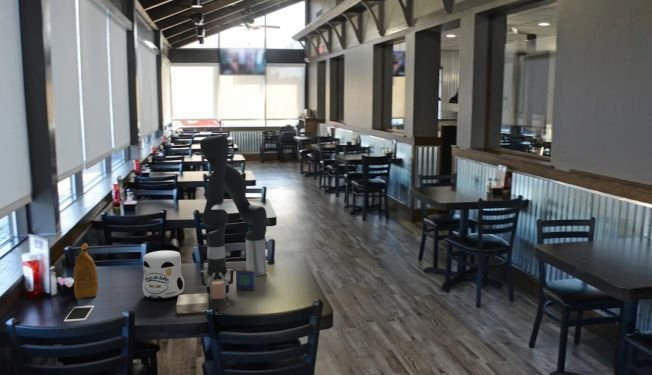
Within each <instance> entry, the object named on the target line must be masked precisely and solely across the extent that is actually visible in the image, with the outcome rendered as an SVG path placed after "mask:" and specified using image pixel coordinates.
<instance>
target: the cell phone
mask: <svg viewBox="0 0 652 375" xmlns="http://www.w3.org/2000/svg"><path fill="white" fill-rule="evenodd" d="M94 307H95V305H82V306H81V305H78V306H74V307H73V308H72V310H71V311H70V312H69V313H68V314H67V316H66V317H65V319H64V320H63V322H65V323H66V322H80V321H86V320H87V318H88V317H89V315H90V314H91V312H92V311H93V310H94Z"/></svg>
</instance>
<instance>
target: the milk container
mask: <svg viewBox="0 0 652 375" xmlns="http://www.w3.org/2000/svg"><path fill="white" fill-rule="evenodd" d="M142 264H143V280H142V286H141V287H142V288H141V290H142V293H143V295H144V296H145V297H146V298H148V299H150V300H151V299H152V300H167V299H173V298H176V297H178V295H182V294H183V292H184V290H185V280H184V277H183V273H182V272H183V271H182V258H181V254H180V252H179V251H175V250H157V251H152V252H148V253H146V254H144V255H143V257H142Z"/></svg>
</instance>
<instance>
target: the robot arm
mask: <svg viewBox="0 0 652 375" xmlns="http://www.w3.org/2000/svg"><path fill="white" fill-rule="evenodd" d="M199 142H200V143H199V148H200V151H201V153H202V155H203V157H204V159H206V161H207V162H208V164H209V165H210V166H211V167H212V169H213V170H212V173H211V175H210V176H209V178H208V180H207V183H206V202H205V205H204V206H205V207H204V209H203V212H202V217H201V222H202V224H203V226H205V227H219V228H218V229H216V230H213V231H209V232H208V233H207V237H206V239H207V240H206V241H207V250H206V251H207V253H206V254H207V255H206V256H207V269H206V270H200V278H201V285H202V286H203V287H206V293H208V296H210V295H211V284H212V282H213V281H216V280H217V281H224V285H225V294H226V295H227V294H228V293H229V292H230V285H232V284H233V283H234V269H233V268H230V269H228V268H227V263H226V262H227V261H226V259H227V258H226V257H227V256H226V247H225V246H226V245H225V231H226V227H227V224H228V219H229V215H228V214H229V213H228V212H227V211H226V210H225V209H223V208H221V209H216V208H215V209H213V207H215V206H218V205H221V204H223V203H224V200H225V198H224V196H225V193H224V192H225V190H226V191H227V193H228V194H229V196H230V198H231V200H232V202H233V203H234V205H235V207H236V210H237V211H238V214H239V216H240V218H241V220H242V221H243V223H245V224H246V225H252V230H249V231H247V232H246V233H245V257H246V263H245V264H246V265H245V266H247V270H255V272H256V273H255V277H260V276H264V275H267V254H266V233H267V217H268V215H267V211H266V208H265V207H264V206H262V205H254V204H253V205H252V204H251V203H250V202H249V200H248V197H247V196H246V195H247V182H246V181H245V179H244V177H243V175H242V174H241V172H240V171H239V170H238V169H237V168H235V167H234V166H232V165H231V164H229V163H228V157H229V150H230V147H229V140H228V139H227V136H225V135H223V134H219V135H213V136H207V137H204V138H202V139H201V140H200V141H199ZM224 189H225V190H224ZM227 273H228V275H230V276H229V277H230V278H229V280H228V279H227V277H226V275H227ZM206 275H208V276H209V277H208V280H207V281H206V280H205V277H206Z"/></svg>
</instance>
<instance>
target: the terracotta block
mask: <svg viewBox="0 0 652 375" xmlns="http://www.w3.org/2000/svg"><path fill="white" fill-rule="evenodd" d="M211 299H212V300H216V299H217V300H218V299H225V282H224V281H223V280H217V281H212V282H211Z"/></svg>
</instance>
